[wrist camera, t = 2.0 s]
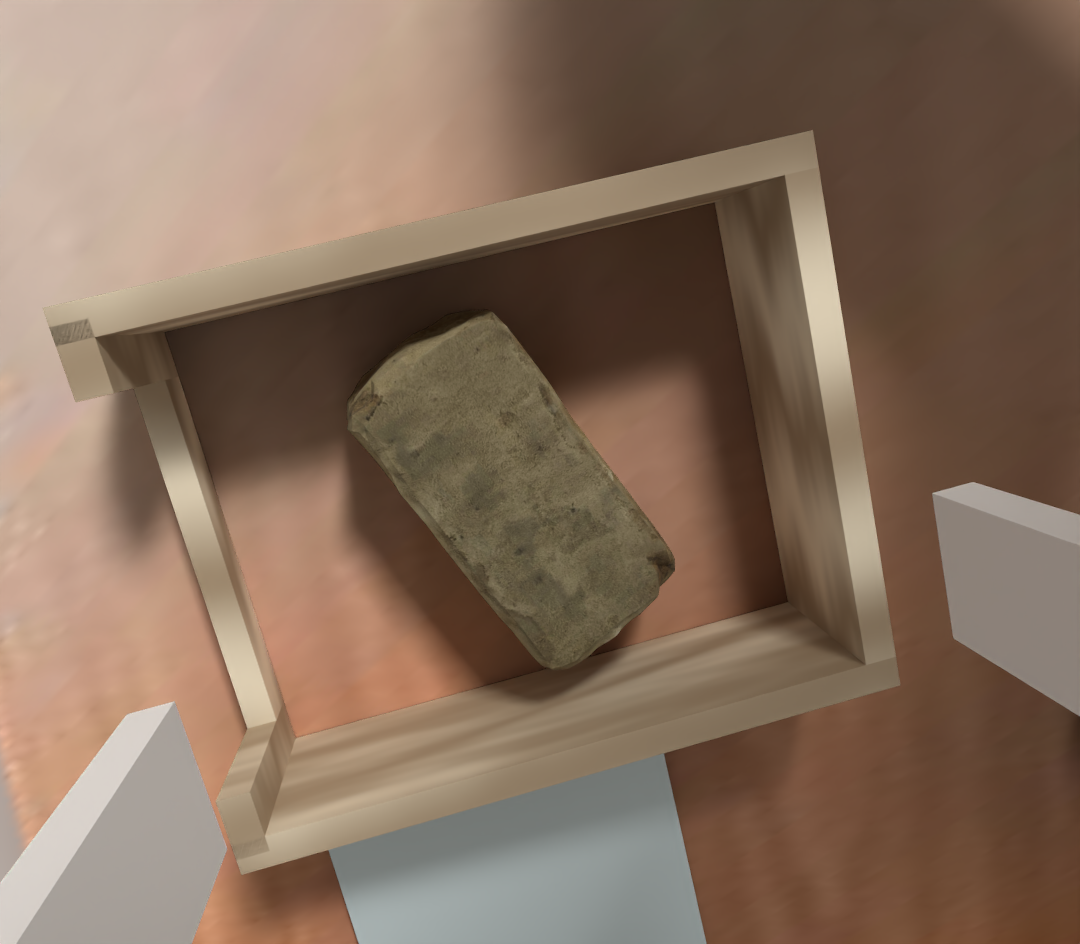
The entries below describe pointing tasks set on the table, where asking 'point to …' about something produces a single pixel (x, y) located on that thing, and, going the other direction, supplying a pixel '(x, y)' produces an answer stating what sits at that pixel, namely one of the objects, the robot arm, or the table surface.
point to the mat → (533, 869)
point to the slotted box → (598, 681)
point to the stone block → (510, 486)
